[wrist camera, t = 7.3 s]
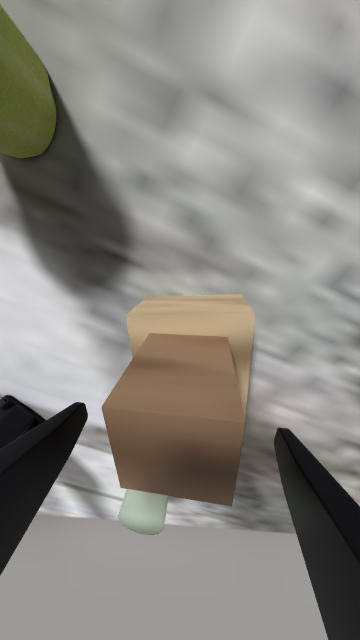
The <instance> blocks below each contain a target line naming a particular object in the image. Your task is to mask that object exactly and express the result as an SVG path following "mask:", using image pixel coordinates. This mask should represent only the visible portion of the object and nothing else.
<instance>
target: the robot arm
mask: <svg viewBox="0 0 360 640" xmlns="http://www.w3.org/2000/svg"><path fill="white" fill-rule="evenodd" d="M87 418H88V413H87V409H86V406H85V404H84V403H81V402H76V403H74V404H72V405H70V406H69V407H67V408H66V409H64V410H62V411H61V412H59V413H58V414H56V415H54V416H53V417H51V418H50V419H48V420H47V421H44V420H42V419H41V418H40V417H38V416H37V415H36V414H34V413H33V412H31V411H30V410H29V409H27V408H26V407H24V406H23V405H22V404H20V403H19V402H17V401H16V400H15V399H13V398H12V397H11V396H9V395H6V396H4V397H3V398H2V399H1V400H0V575H1V573H2V572H3V570H4V568H5V567H6V565H7V563H8V561H9V559H10V557H11V556H12V554H13V553H14V551H15V549H16V548H17V546H18V544H19V542H20V541H21V539H22V537H23V535H24V534H25V532H26V530H27V529H28V527H29V525H30V523H31V522H32V520H33V518H34V516H35V515H36V513H37V511H38V510H39V508H40V506H41V504H42V503H43V501H44V499H45V498H46V496H47V494H48V492H49V491H50V489H51V487H52V485H53V484H54V482H55V480H56V479H57V477H58V475H59V473H60V472H61V470H62V468H63V466H64V465H65V463H66V461H67V460H68V458H69V456H70V454H71V452H72V450H73V448H74V446H75V444H76V442H77V440H78V438H79V436H80V434H81V431H82V429H83V427H84V425H85V423H86V421H87ZM274 447H275V452H276V457H277V462H278V466H279V471H280V476H281V481H282V486H283V490H284V493H285V497H286V500H287V504H288V507H289V510H290V514H291V517H292V520H293V524H294V527H295V530H296V534H297V537H298V540H299V543H300V547H301V550H302V553H303V557H304V560H305V563H306V567H307V570H308V573H309V577H310V580H311V583H312V587H313V590H314V593H315V597H316V600H317V603H318V607H319V610H320V613H321V616H322V620H323V623H324V627H325V630H326V633H327V637H328V640H360V506H359V505H358V504H357V503H356V502H355V501H354V500H353V498H352V497H351V496H350V495H349V494H348V493H347V492H346V491H345V490H344V489H343V488H342V486H341V485H340V484H339V483H338V482H337V481H336V480H335V479H334V478H333V477H332V475H331V474H330V473H329V472H328V471H327V470H326V469H325V468H324V467H323V466H322V465H321V463H320V462H319V461H318V460H317V459H316V458H315V457H314V456H313V455H312V454H311V452H310V451H309V450H308V449H307V448H306V447H305V446H304V445H303V444H302V443H301V442H300V440H299V439H298V438H297V437H296V436H295V435H294V434H293V433H292V432H291V431H290V430H289V429H287V428H278V429H277V432H276V435H275V439H274Z"/></svg>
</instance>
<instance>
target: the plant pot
mask: <svg viewBox="0 0 360 640" xmlns="http://www.w3.org/2000/svg"><path fill="white" fill-rule="evenodd" d="M55 126H56V106H55V102H54V99H53V95H52V92H51V88H50V83H49V78H48V73H47V71H46V69H45V67H44V65H43V63H42V61H41V60H40V58H39V57H38V55H37V54H36V52H35V51H34V50H33V48H32V47H31V46H30V44H29V43H28V41H27V40H26V39H25V37H24V36H23V35H22V33H21V32H20V30H19V29H18V28H17V26H16V25H15V23H14V22H13V21H12V19H11V18H10V17H9V15H8V14H7V13H6V11H5V10H4V9H3V7H2V6H1V5H0V153H1V154H5V155H9V156H12V157H16V158H27V157H33V156H38V155H40V154H42V153H43V152H44V151H45V150H46V149H47V147H48V146H49V144H50V143H51V140H52V138H53V135H54V131H55Z"/></svg>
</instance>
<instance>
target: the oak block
mask: <svg viewBox="0 0 360 640" xmlns="http://www.w3.org/2000/svg"><path fill="white" fill-rule="evenodd" d="M125 317H126V322H127V328H128V333H129V339H130V344H131V350H132V355H133V358H134V356H135V355H136V353H137V352H138V350H139V349H140V347H141V346H142V344H143V343H144V341H145V339H146V338H147V336H148V335H149V333H157V334H178V335H199V336H220V337H228V341H229V346H230V351H231V355H232V360H233V365H234V370H235V374H236V379H237V384H238V388H239V393H240V398H241V403H242V407H243V412H244V416H245V415H246V405H247V395H248V385H249V375H250V365H251V355H252V345H253V335H254V325H255V313H254V312H253V310H252V309H251V307H250V306H249V304H248V303H247V301H246V300H245V298H244V297H243V295H242V294H235V295H190V296H147V297H146V298H145V299H144V300H143V301H142V302H140V303H139V304H138V305H137V306H136V307H135V308H133V309H132V310H131V311H130V312H129V313H128V314H126V315H125Z"/></svg>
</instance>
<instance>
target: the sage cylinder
mask: <svg viewBox="0 0 360 640" xmlns="http://www.w3.org/2000/svg"><path fill="white" fill-rule="evenodd" d="M167 503H168V496H167V495H161V494H155V493H149V492H143V491H137V490H131V489H127V490H126V493H125V496H124V499H123V502H122V505H121V508H120V512H119V515H118V519H119V521H120V522H121V523H122V524H123V525H124V526H125V527H127V528H128V529H130V530H132V531H135V532H137V533H141V534H146V535H155V534H159V533H161V532H162V531H163V528H164V522H165V516H166V509H167Z"/></svg>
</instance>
